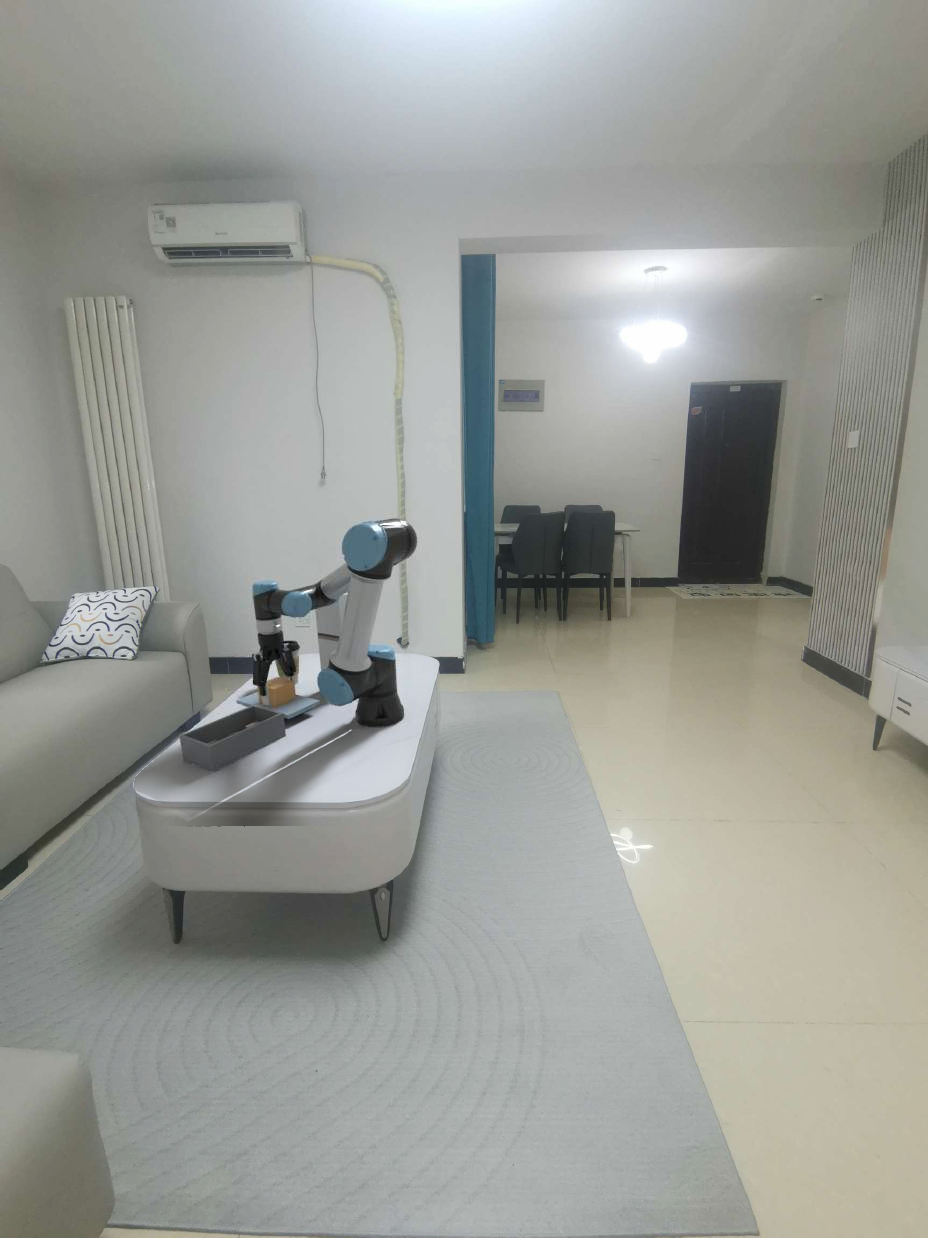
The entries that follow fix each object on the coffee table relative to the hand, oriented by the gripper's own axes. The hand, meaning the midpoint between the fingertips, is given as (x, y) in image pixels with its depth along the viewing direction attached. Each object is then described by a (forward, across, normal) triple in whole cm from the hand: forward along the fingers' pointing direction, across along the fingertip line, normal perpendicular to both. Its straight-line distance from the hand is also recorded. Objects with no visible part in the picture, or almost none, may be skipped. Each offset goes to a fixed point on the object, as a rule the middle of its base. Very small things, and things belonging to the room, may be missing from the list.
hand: (277, 699), depth 187 cm
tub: (+5, -23, -9) cm, 25 cm away
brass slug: (+4, -23, -9) cm, 25 cm away
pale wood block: (+4, -16, -9) cm, 19 cm away
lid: (+1, 0, 0) cm, 1 cm away
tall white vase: (+5, +28, -2) cm, 29 cm away
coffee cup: (+5, +22, +20) cm, 30 cm away
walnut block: (+4, -30, -9) cm, 32 cm away
